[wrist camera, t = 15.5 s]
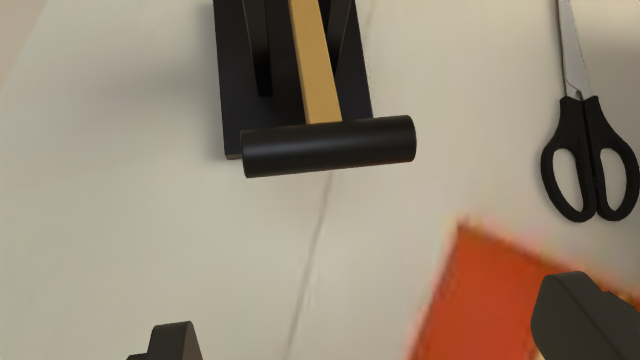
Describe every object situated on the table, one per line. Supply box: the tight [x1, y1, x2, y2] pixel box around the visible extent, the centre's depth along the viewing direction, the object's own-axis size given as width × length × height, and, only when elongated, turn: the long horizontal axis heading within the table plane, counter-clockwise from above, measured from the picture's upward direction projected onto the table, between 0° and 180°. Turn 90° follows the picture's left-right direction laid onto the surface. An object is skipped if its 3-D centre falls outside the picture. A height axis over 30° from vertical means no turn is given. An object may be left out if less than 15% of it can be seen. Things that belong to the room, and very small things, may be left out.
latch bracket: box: [213, 0, 373, 160], centre depth 25 cm, size 12×10×14 cm
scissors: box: [541, 0, 640, 222], centre depth 33 cm, size 7×1×20 cm
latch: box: [240, 0, 417, 178], centre depth 18 cm, size 13×6×2 cm, turn 7°
